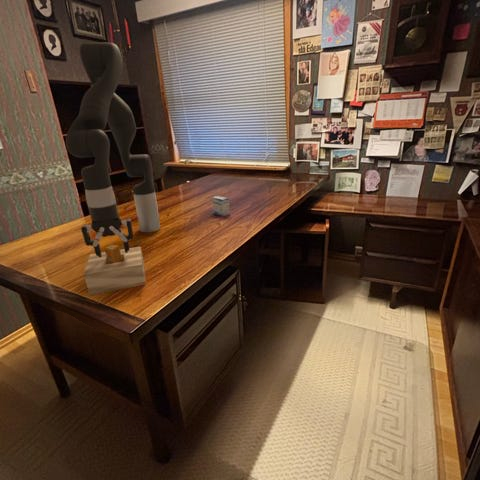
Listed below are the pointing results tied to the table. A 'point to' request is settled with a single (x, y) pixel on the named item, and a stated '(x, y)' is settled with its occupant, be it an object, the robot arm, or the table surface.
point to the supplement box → (113, 254)
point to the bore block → (115, 272)
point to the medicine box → (220, 205)
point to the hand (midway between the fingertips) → (113, 253)
